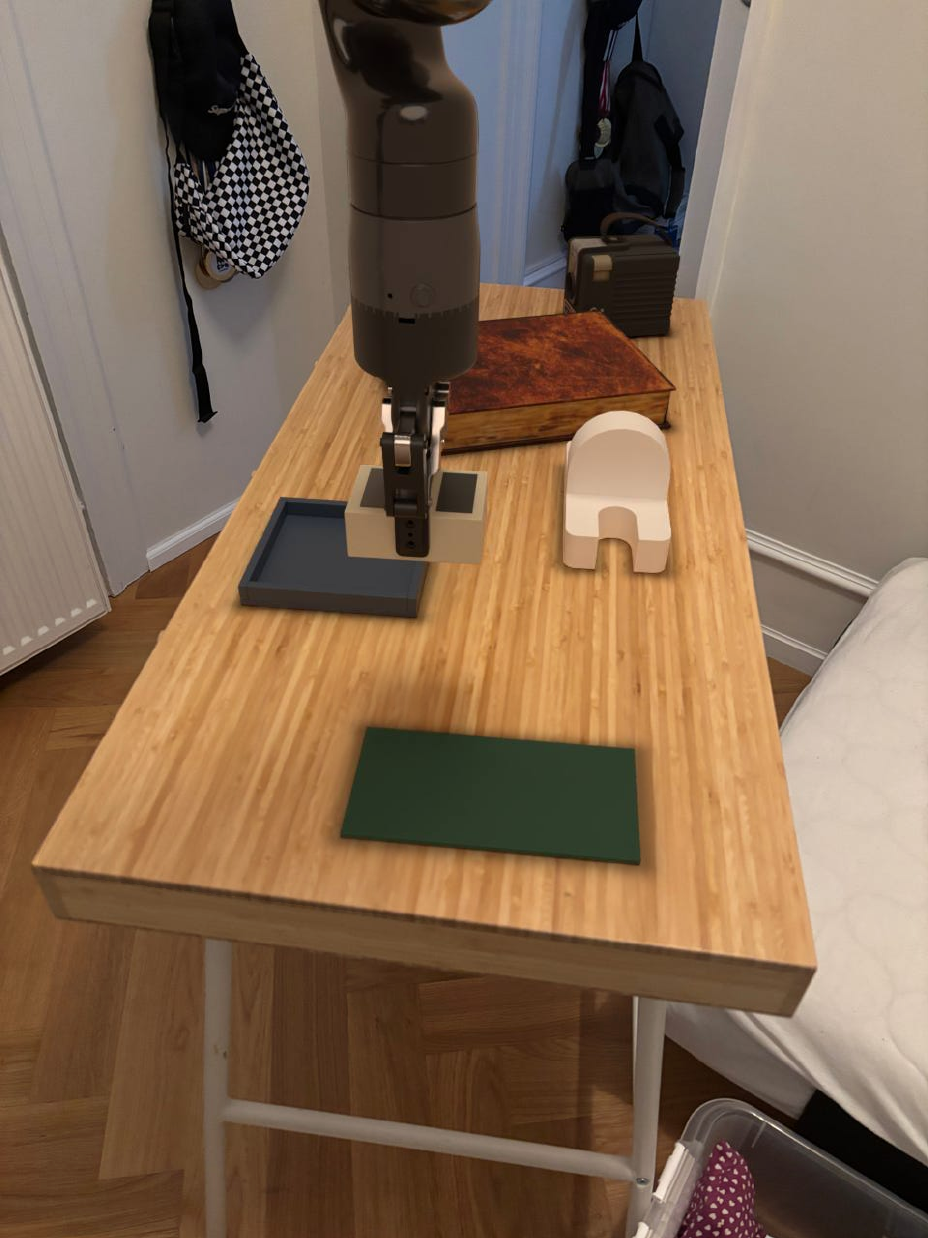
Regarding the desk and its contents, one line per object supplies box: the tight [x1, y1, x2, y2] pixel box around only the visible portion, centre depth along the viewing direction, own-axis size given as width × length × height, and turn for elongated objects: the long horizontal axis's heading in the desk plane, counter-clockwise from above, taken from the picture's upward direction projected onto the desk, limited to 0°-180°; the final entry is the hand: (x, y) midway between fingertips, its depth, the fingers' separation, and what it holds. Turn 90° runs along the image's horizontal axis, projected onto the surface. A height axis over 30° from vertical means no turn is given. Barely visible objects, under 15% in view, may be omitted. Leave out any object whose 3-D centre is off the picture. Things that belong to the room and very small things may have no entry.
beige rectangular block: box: [345, 464, 489, 565], centre depth 64 cm, size 9×6×4 cm
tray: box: [237, 496, 430, 618], centre depth 87 cm, size 16×15×2 cm
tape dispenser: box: [562, 411, 672, 574], centre depth 90 cm, size 10×18×11 cm, turn 175°
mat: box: [339, 726, 641, 865], centre depth 66 cm, size 20×10×1 cm, turn 84°
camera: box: [562, 211, 681, 338], centre depth 127 cm, size 11×14×15 cm
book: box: [385, 310, 677, 456], centre depth 113 cm, size 30×24×5 cm
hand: (419, 525), depth 65 cm, fingers closed on beige rectangular block, 6 cm apart
